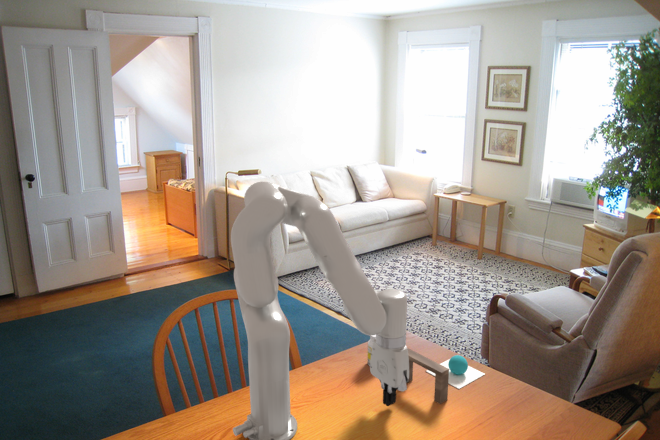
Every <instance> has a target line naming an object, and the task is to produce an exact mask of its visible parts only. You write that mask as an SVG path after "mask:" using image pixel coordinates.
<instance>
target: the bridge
mask: <svg viewBox="0 0 660 440" xmlns="http://www.w3.org/2000/svg"><path fill="white" fill-rule="evenodd" d="M407 350H408V357H409V380H408V382H407V383H406V384H408V383H410V382H412V381H413V374H414V364H416V365H418V366H419V367H422V368H423V369H426V371H427V370H429V371H431V372H433V373H435V376H434V396H433V397H434V398H433V401H434V402H436V404H439V405H442V404H443V403H445V402H446V401H448V394H449V384H448V379H449V369H448V368H446V367H444V366H442V365H440V364H441V363H438V362H437V361H434V360H432V359H430V358H428V357H427V356H425V355H422V354H420V353H418V352H416V351H415V350H413V349H410V348H408V347H407Z"/></svg>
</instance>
